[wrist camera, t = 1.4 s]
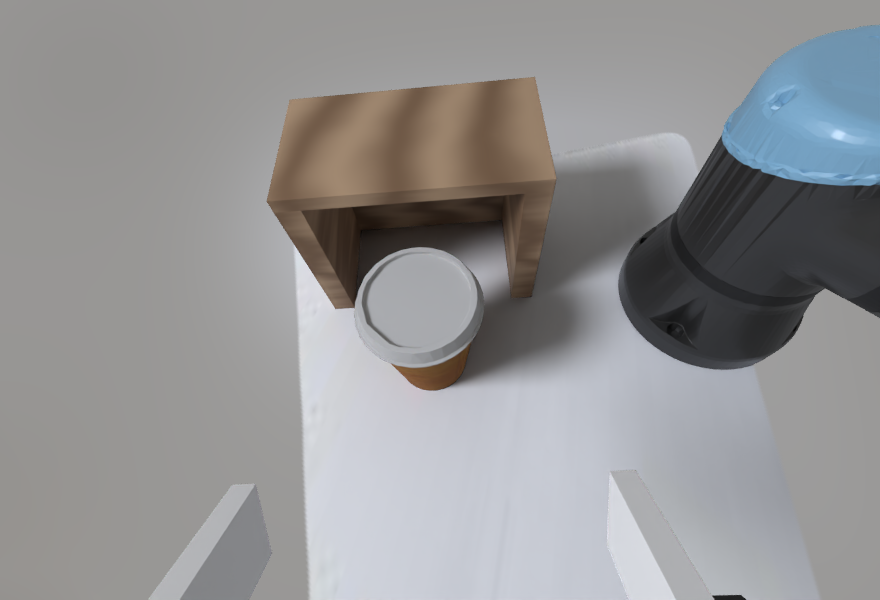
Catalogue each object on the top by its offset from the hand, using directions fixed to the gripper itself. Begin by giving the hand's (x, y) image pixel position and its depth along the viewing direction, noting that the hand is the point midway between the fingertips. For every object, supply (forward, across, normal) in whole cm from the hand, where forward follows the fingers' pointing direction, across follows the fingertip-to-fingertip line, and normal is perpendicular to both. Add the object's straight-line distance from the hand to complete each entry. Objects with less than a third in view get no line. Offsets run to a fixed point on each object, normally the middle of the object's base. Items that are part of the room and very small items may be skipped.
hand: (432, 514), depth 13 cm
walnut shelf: (+34, -2, +2) cm, 35 cm away
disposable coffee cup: (+27, -2, -6) cm, 27 cm away
